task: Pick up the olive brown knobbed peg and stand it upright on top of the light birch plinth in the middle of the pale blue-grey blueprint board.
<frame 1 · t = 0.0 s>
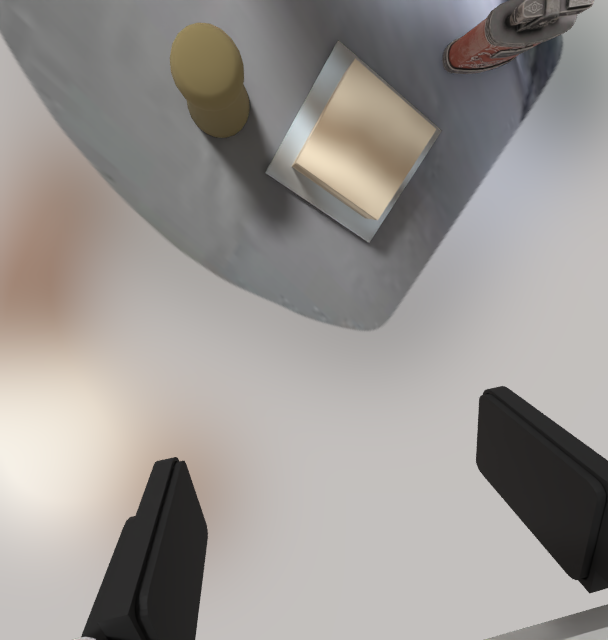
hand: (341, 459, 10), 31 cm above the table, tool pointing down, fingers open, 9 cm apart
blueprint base: (353, 152, 37), on the table
olive brown knobbed peg: (218, 104, 33), on the table
lighter: (477, 54, 35), on the table
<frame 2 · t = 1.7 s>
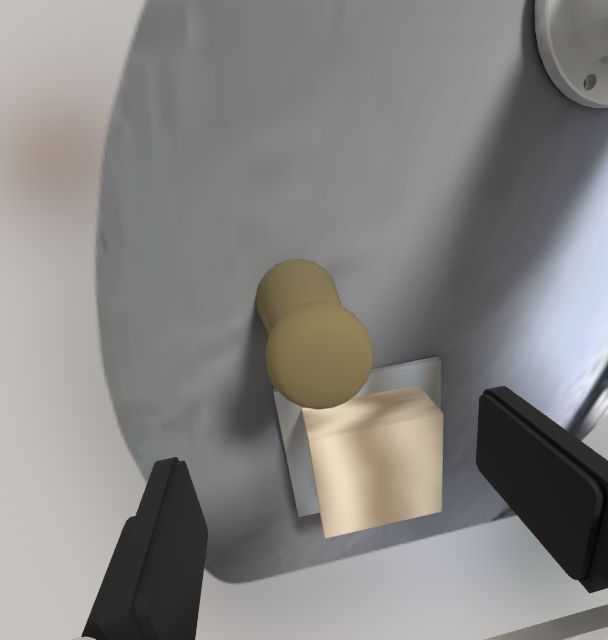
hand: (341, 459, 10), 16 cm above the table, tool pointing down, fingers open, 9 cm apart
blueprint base: (363, 439, 30), on the table
olive brown knobbed peg: (296, 299, 25), on the table
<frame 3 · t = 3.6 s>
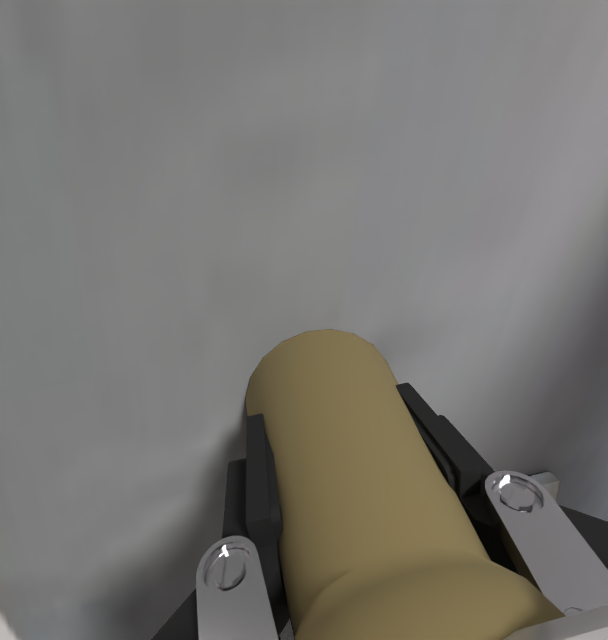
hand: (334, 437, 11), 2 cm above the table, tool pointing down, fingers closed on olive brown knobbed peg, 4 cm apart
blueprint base: (420, 595, 19), on the table
olive brown knobbed peg: (320, 396, 14), on the table, touching gripper
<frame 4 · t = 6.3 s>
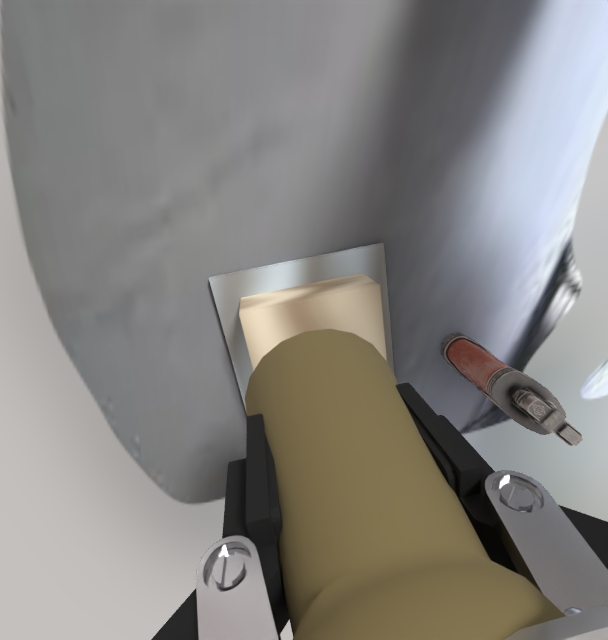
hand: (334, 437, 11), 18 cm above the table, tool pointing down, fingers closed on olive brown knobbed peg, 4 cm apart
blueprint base: (311, 338, 29), on the table
olive brown knobbed peg: (319, 396, 14), point 15 cm above the table, touching gripper
lighter: (470, 359, 33), on the table
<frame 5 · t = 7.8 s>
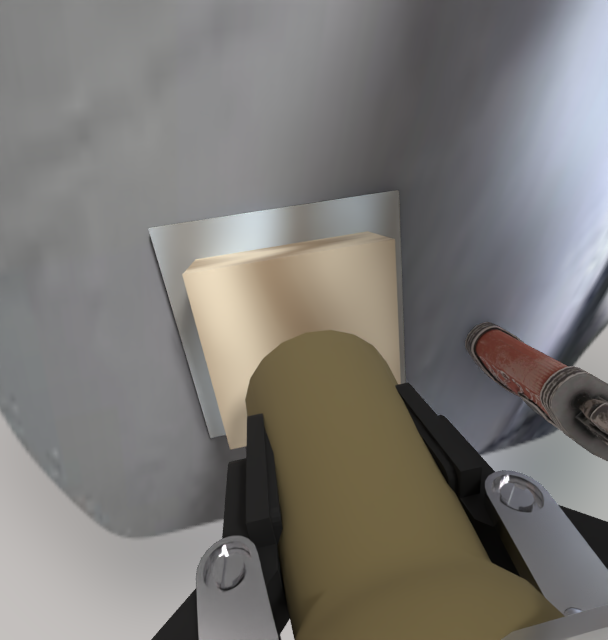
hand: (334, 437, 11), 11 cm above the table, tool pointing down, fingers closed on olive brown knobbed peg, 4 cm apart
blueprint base: (295, 321, 22), on the table
olive brown knobbed peg: (320, 397, 14), point 9 cm above the table, touching gripper
lighter: (502, 358, 25), on the table
when the fingers open (8 cm above the table, at t = 9.1 s): olive brown knobbed peg stays where it is, resting on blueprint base.
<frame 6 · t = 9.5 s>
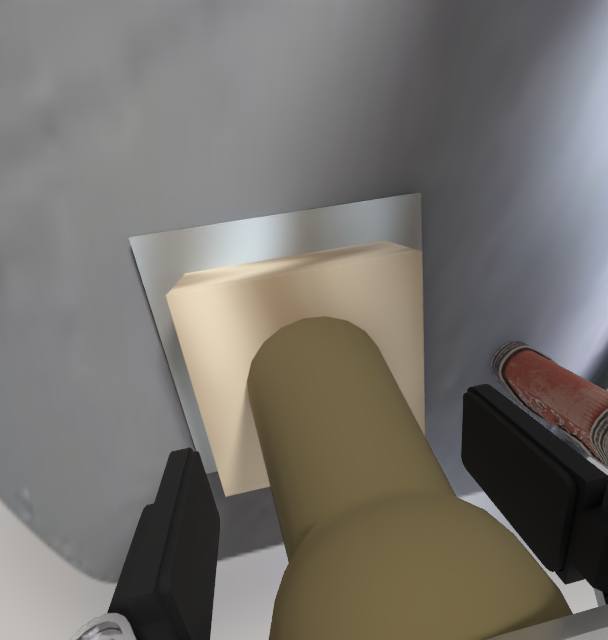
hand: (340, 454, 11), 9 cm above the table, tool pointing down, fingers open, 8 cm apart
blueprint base: (300, 343, 19), on the table
olive brown knobbed peg: (316, 379, 15), point 4 cm above the table, touching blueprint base
lighter: (530, 380, 23), on the table
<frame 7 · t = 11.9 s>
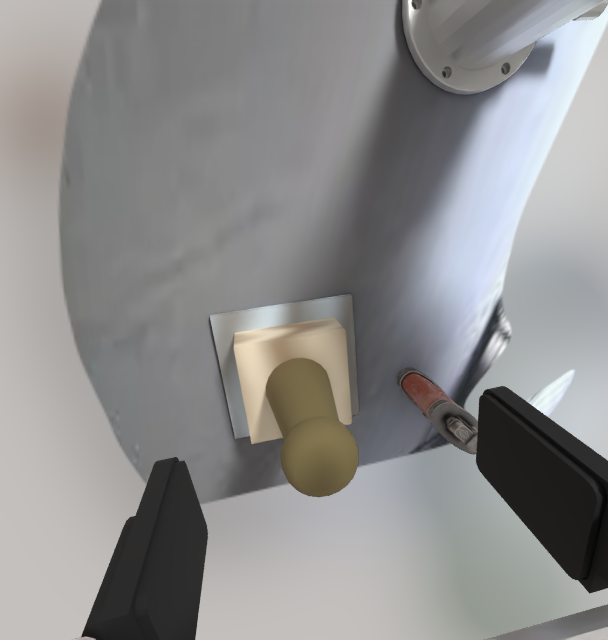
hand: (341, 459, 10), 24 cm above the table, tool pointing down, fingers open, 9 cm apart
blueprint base: (290, 367, 36), on the table
olive brown knobbed peg: (297, 386, 31), point 4 cm above the table, touching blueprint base
lighter: (421, 390, 40), on the table
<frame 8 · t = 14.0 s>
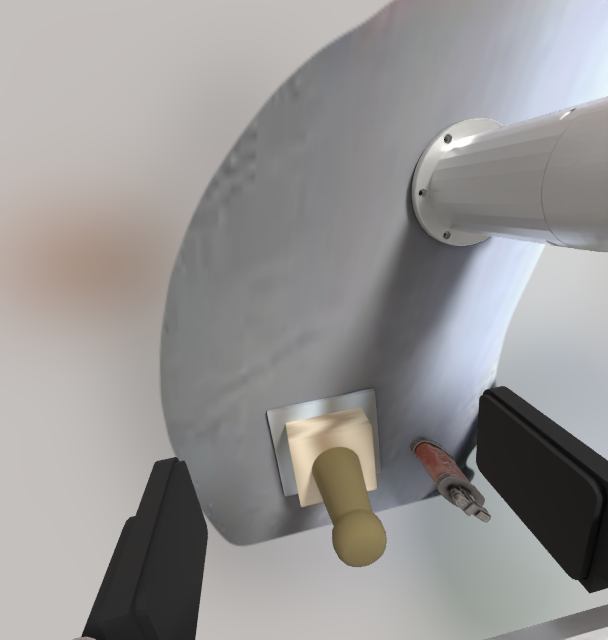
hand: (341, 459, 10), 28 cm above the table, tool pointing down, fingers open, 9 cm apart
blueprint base: (327, 442, 46), on the table
olive brown knobbed peg: (335, 465, 41), point 4 cm above the table, touching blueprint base
lighter: (431, 452, 49), on the table
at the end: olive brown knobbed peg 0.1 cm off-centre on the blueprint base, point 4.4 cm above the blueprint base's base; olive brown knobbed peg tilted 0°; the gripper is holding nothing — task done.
